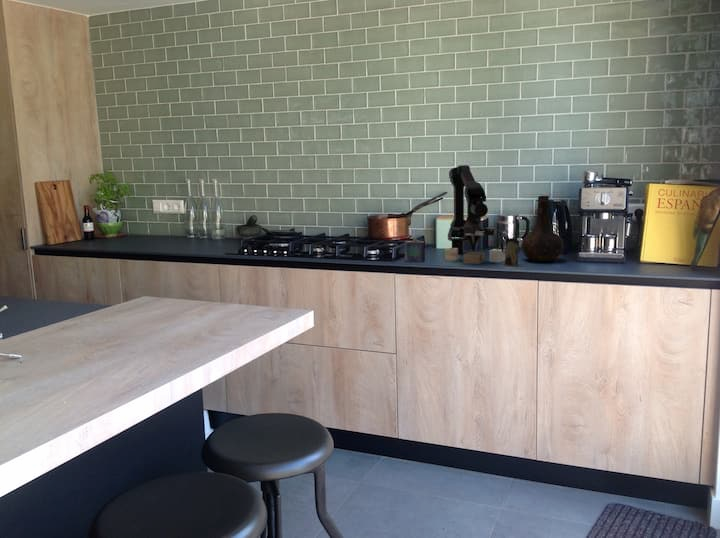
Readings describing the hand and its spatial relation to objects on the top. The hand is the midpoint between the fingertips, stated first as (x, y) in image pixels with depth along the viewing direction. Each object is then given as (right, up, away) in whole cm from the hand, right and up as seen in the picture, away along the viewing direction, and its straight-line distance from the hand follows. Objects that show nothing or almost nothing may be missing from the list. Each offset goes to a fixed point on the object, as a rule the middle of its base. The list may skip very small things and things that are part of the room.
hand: (473, 250), depth 291 cm
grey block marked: (+10, -5, +1) cm, 11 cm away
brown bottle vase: (+30, -5, 0) cm, 30 cm away
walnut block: (0, -5, +1) cm, 5 cm away
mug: (+13, -6, -9) cm, 17 cm away
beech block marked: (-9, -4, +8) cm, 12 cm away
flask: (-25, -5, +6) cm, 26 cm away
